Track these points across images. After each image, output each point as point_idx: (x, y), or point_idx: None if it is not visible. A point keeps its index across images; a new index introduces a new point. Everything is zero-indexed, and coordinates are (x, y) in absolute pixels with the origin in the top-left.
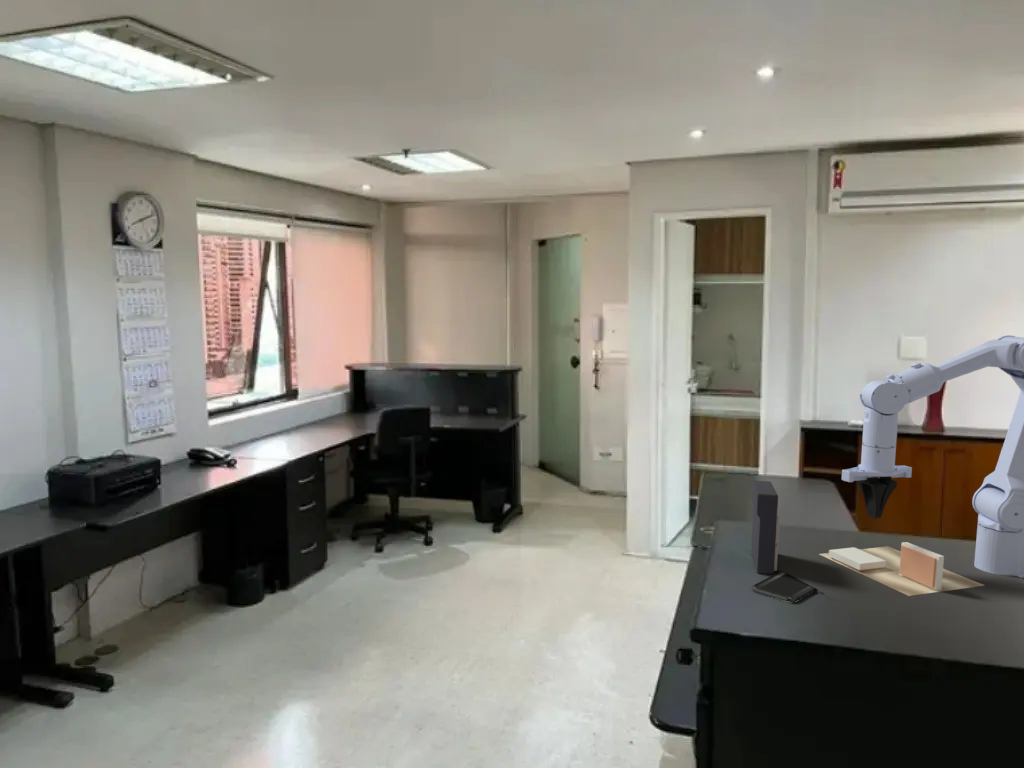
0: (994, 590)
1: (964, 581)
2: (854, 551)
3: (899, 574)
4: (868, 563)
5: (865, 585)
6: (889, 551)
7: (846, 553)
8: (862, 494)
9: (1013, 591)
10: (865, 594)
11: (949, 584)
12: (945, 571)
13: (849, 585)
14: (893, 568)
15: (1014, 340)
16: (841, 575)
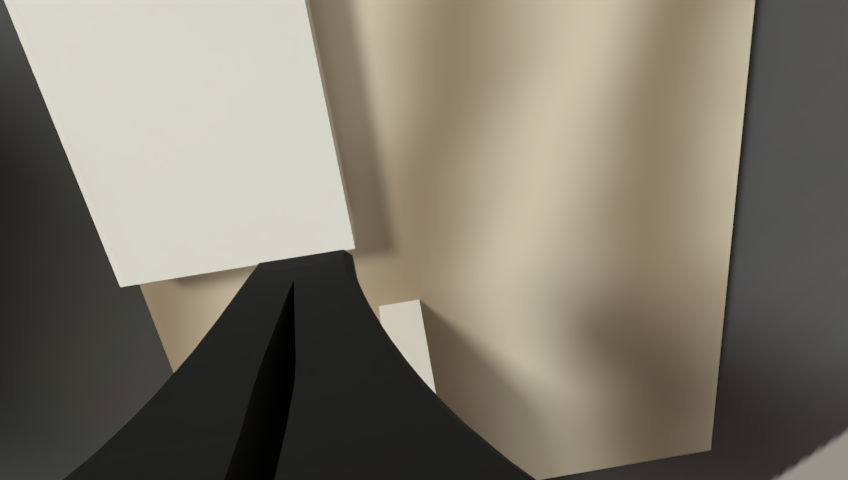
0: (739, 439)
1: (661, 407)
2: (222, 28)
3: (379, 308)
4: (199, 270)
5: (113, 356)
6: None
7: (121, 67)
8: (100, 453)
9: (809, 451)
10: (51, 452)
11: (548, 434)
12: (699, 283)
13: (11, 351)
14: (416, 214)
15: None
16: (26, 208)
